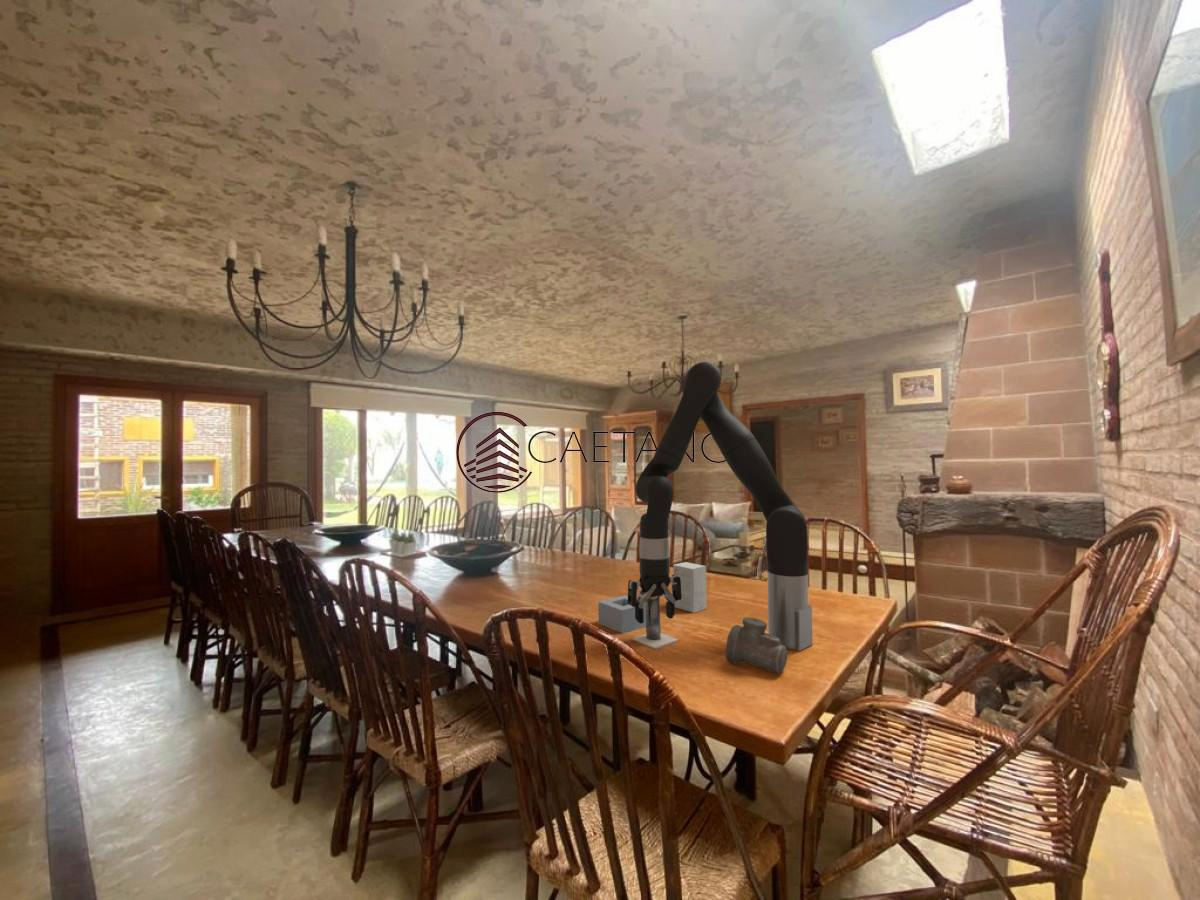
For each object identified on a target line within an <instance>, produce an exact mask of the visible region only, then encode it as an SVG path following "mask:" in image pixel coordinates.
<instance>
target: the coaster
mask: <svg viewBox="0 0 1200 900" xmlns="http://www.w3.org/2000/svg"><path fill="white" fill-rule="evenodd" d="M632 641H635V642H637V643H639V644H641V645H644V646H646V647H649V648H650V649H653V650H659V649H660V648H664V647H667V646H670V645H672V644H675V643H677V642H679V639H677V638H675V637H673V636H669V635H666V634H664V633H661V638H660V639H658V640H650V639H647V638H646V633H645V634H643V635H639V636H635V637H633V638H632Z"/></svg>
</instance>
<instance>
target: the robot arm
mask: <svg viewBox="0 0 1200 900" xmlns="http://www.w3.org/2000/svg"><path fill="white" fill-rule="evenodd" d="M721 383H722V375H721V371H720V370H719V368H718V367H717V366H716V365H715V364H713V363H711V362H708V361H701V362H697V363H696V364H694V365H693V366H691V367H690V368H689V370H688V371H687V372H686V374H685V378H684V379H683V383H682V396H681V399H680V401H679V404H678V406H677V408H676V410H675V412H674V415H673V417H672V419H671V420H670V422H669V423H668V426H667V428H666V429H665V432H664V433H663V435H662V437H661V439H660V442H659V444H658V446H657V448H656V449H655V453H654V455H653V457H652V459H651V460H650V461H649V462H648V463H647V465H646V466H645V467H644V469H643V470H642V472H641V474H640V475H639V477H638V479H637V481H636V484H635V494H636V497H637V498H638V499H639V500H640V501H641V502H643V503H647V508H646V512H645V513H644V514H642V515H641V516H640V522H639V531H640V532H639V533H640V534H639V535H640V536H639V537H640V539H639V548H638V550H639V553H638V554H639V577H640V578H639V580H632V579H629V580H628V582H627V583H628V584H627V596H628V601H627V603H628V604H629V605H631V606H633V607H635V619H636V620H637V622H639V623H640V624H641V623H644V611H643V608H642V607H643V605H644V604H645V602H646V601H648V599H649V598H650V597H655V596H660V597H662V596H663V597H664V599H665V600H666V602H665V603H666V604H665V612H666V614H665V615H666V617H667V618H668V619H670V620H671V619H674V616H675V614H676V613H675V609H676V607H675V602H676V601H677V600H681V598H682V595H681V579H680V577H678V576H676V575H673V574H672V575H671V576H670V572H671V571H670V569H671V568H670V565H671V564H670V556H671V555H670V551H671V550H670V541H669V518H670V515H671V510H672V505H673V502H674V500H673V499H674V490H673V489H674V488H673V485H672V482H671V480H669V478H668V477H669V475H670V474H672V473H674V472H676V471H677V470H679V468H680V465H681V464H682V462H683V459H684V458H685V455H686V452H687V451H688V448H689V445H690V443H691V440H692V438H693V435H694V432H695V430H696V427H697V425H698V423H699V420H700V419H702V421H703V423H704V424H705V426H706V427H707V430H708V432H709V433H710V435H711V437H712V439H713V440H714V442H715V444H716V445H717V447H718V449H719V450H720V453H721V455H722V456H723V458H724V460H725V461H726V463H727V465H728V466H729V468H730V469H731V471H732V472H733V474H734V475H735V476H736V478H737V479H738V480H739V481H740V482H741V484H742V485H743V486H744V487H745V488H746V490H748V492H749V493H750V494H751V496H753V498H754V499H755V501H756V503H757V505H758V506H759V508H760V510H761V512H762V514H763V516H764V519H765V521H766V523H765V541H766V545H765V546H766V547H765V548H766V563H767V614H768V615H767V620H768V624H767V626H768V630H767V631H768V633H767V634H770V635H774V636H776V637H778V638H779V640H780V644H781V645H784V646H785V648H786V650H796V651H799V652H800V651H802V650H804V649H806V648H808V647H810V646H812V645H813V606H812V605H811V604H809V579H808V578H809V577H808V572H809V570H808V567H809V566H808V565H809V564H808V563H809V558H808V557H809V556H808V523H807V519H806V517H805V515H804V514H803V512H802V511H801V510H800V509H799V508H798V506H797V505H796V504H795V503H794V502H793V500H792V499H791V498H790V496H789V495H788V493H787V492H786V491H785V489H784V488H783V486H782V484H780V482H779V480H778V478H777V476H776V473H775V471H774V470H773V467H772V465H771V463H770V461H769V459H768V457H767V455H766V454H765V452H764V450H763V448H762V447H761V445H760V444H759V442H758V440H757V438H756V437H755V436H754V434H753V433H752V432H751V430H749V428H748V427H747V426H746V425H745V424H744V423H742V422H741V421H739V419H738V418H736V417H735V416H734V415H733V414H732V413H731V412H730V411H729V410H728V408H727V406H726V404H725V403H724V401H723V399H722V397H721V396H720V393H719V390H720V387H721ZM670 585H671V590H670V589H669V586H670ZM639 587H640V588H641V589H640V590H639ZM638 590H639V592H638ZM644 593H645V595H644Z"/></svg>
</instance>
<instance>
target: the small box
mask: <svg viewBox="0 0 1200 900" xmlns="http://www.w3.org/2000/svg"><path fill="white" fill-rule="evenodd" d="M672 570H673V571H672V575H676V576H678V577H680V579H681V595H682V598H681V600H677V601H676V602H675V609H680V610H683V611H686V612H689V613H693V614H694V613H698V612H701V611H703V610H707V608H708V605H707V601H708V600H707V567H706V565H701V564H696V563H692V562H687V561H685V562H680V563H676V564H675V563H674V564H673V565H672Z"/></svg>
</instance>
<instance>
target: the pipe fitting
mask: <svg viewBox="0 0 1200 900" xmlns="http://www.w3.org/2000/svg"><path fill="white" fill-rule="evenodd" d="M767 626H768V624H767V623H766V622H765V621H764V620H762V619H758V618H756V617H750V616H747V617H743V618H742V626H741V625H739V624H735V625H733V626H732V627H731V629H730V631H729V633H728V635H727V640H726V644H725V651H724V652H725V653H724V654H725V659H726V661H727V662H730V663H732V664H734V665H737V664H740V663H743V662H744V663H748V664H750V665H752V666H756V667H758V668H760V669H764V670H766V671H769V672H772V673H774V674H777V675H780V674H781V673H782V672H783V671H785V670H784V669H785V667H786V664H787V661H788V651H787V650H788V649H787V648H785V646H784V645H781V644H780V640H779V638H778V637H776V636H774V635H770V634H769V633H767V632H766V630H767Z"/></svg>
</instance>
